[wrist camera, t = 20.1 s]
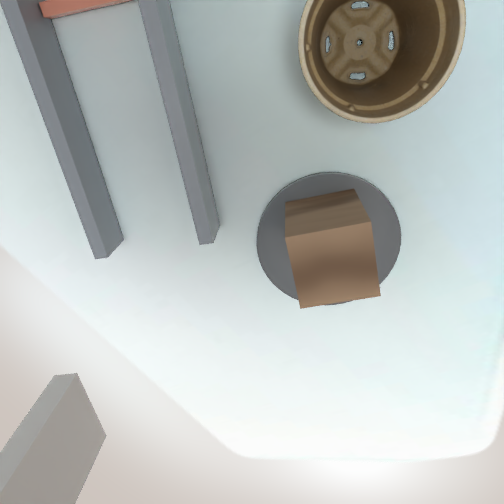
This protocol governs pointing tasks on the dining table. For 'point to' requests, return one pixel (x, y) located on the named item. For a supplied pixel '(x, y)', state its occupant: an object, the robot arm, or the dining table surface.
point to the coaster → (273, 218)
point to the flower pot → (379, 54)
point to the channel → (73, 125)
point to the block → (331, 249)
